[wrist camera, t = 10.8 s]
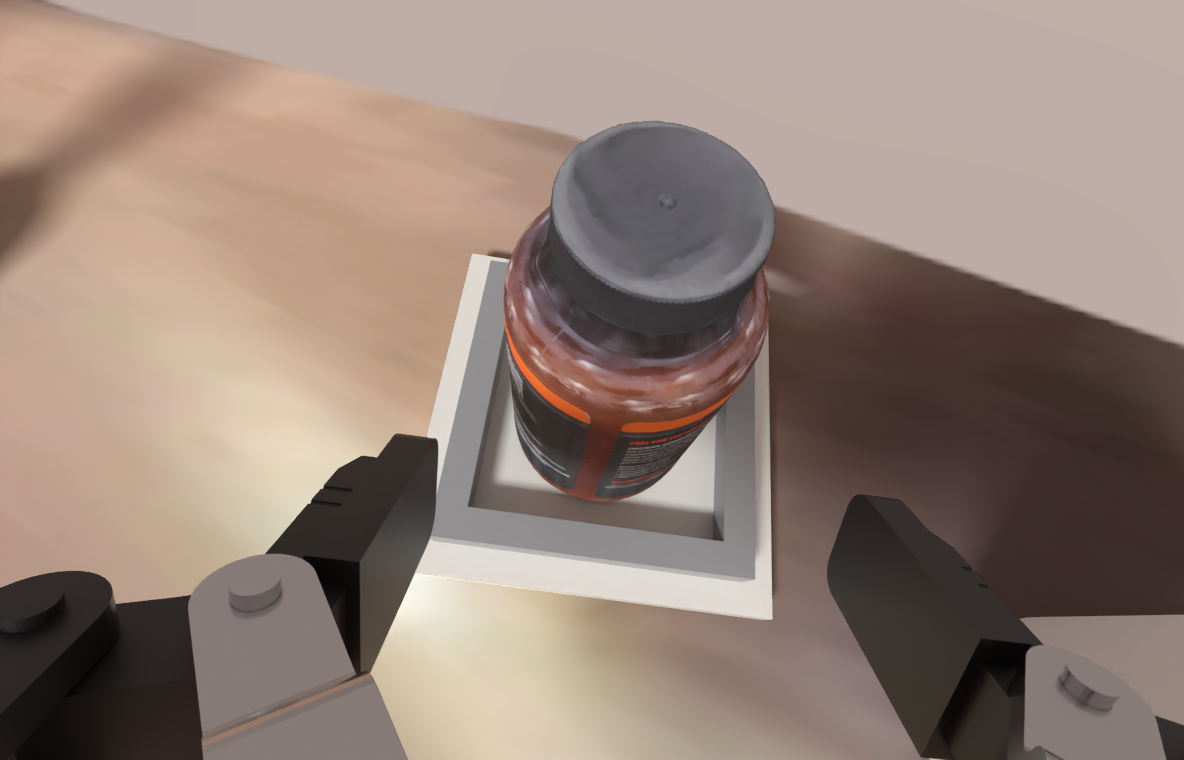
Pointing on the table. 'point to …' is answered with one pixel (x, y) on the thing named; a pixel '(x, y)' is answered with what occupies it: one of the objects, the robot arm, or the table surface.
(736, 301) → the supplement bottle
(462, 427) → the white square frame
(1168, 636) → the mug
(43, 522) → the table surface
